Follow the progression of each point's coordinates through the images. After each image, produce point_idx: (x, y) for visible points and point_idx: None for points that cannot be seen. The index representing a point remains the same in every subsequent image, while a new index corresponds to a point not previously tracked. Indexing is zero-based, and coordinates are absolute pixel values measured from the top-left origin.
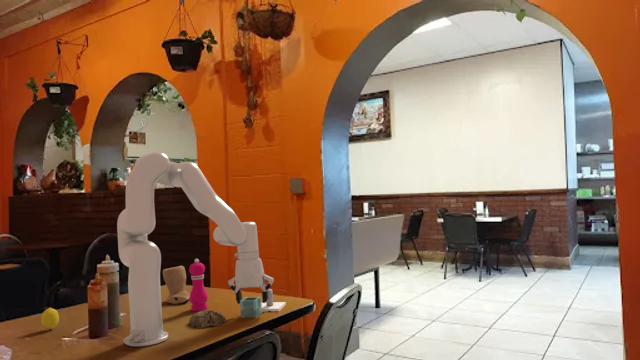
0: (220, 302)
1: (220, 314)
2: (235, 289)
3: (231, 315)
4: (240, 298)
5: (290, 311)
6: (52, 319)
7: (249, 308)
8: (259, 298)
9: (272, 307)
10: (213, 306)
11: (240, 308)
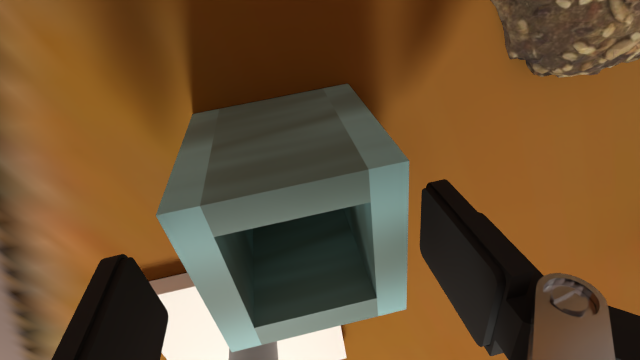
0: None
1: (562, 12)
2: (603, 327)
3: (458, 134)
4: (443, 252)
5: (35, 303)
6: None
7: (264, 139)
8: (214, 313)
9: (200, 311)
10: (611, 269)
11: (374, 117)
